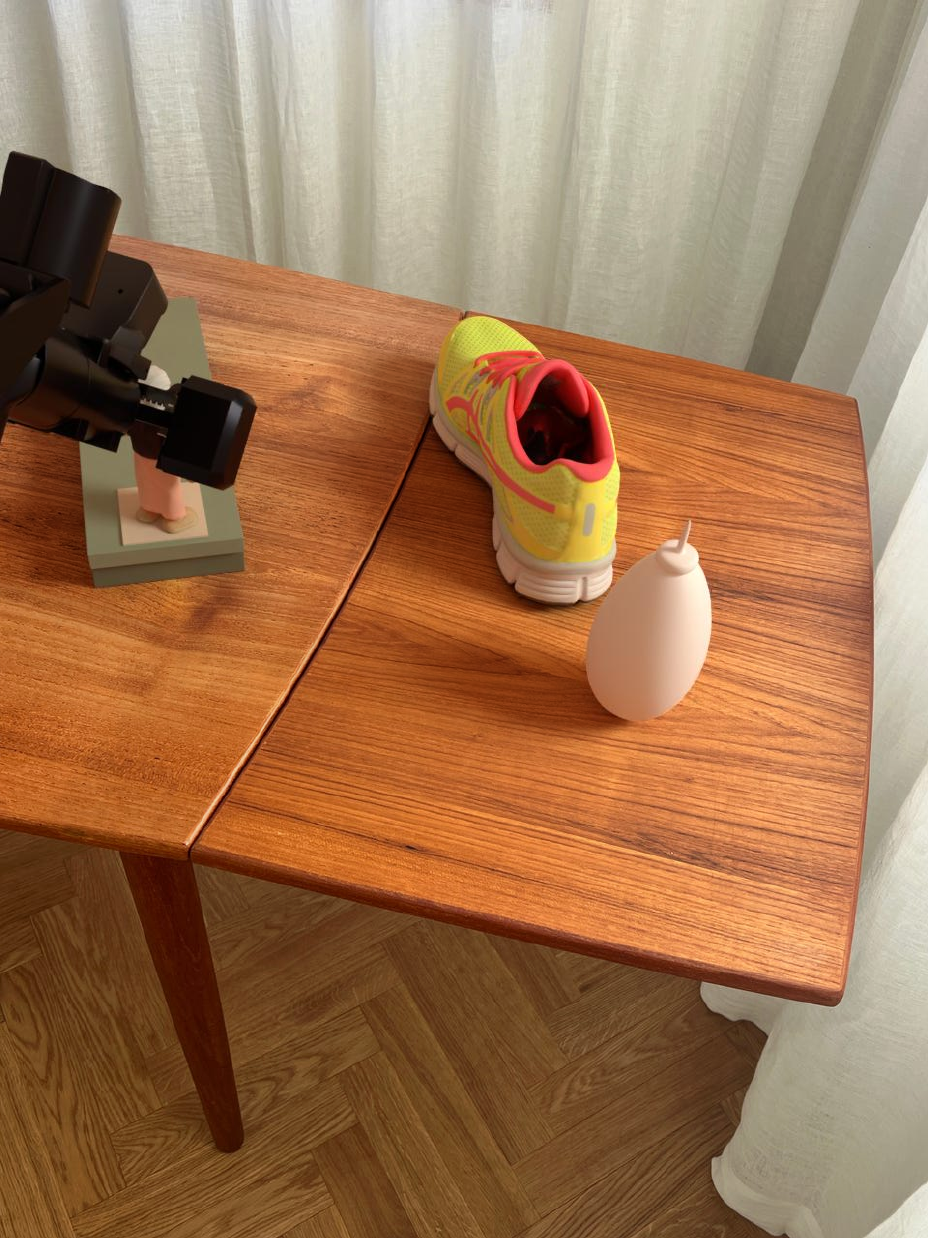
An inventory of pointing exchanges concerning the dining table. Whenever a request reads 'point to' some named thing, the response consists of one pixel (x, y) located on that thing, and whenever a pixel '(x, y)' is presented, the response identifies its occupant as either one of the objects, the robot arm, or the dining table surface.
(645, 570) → the white bulb air blower
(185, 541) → the olive green stone
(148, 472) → the grandmother figurine
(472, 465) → the running shoe
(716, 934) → the dining table surface
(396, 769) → the dining table surface
